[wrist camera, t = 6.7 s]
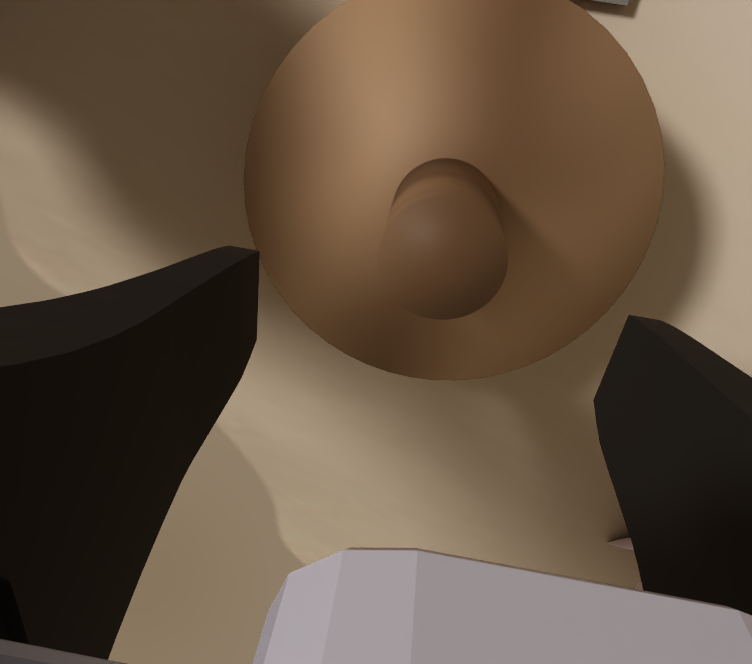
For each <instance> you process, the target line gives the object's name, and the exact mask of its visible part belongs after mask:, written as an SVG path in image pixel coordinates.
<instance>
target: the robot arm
mask: <svg viewBox="0 0 752 664" xmlns="http://www.w3.org/2000/svg"><path fill="white" fill-rule="evenodd" d="M259 255H260V251H257V250H251V249H245V248H239V247H233V246H225V247H221V248H217V249H214V250H211V251H208V252H205V253H202V254H200V255H197V256H194V257H191V258H189V259H186V260H183V261H181V262H178V263H175V264H172V265H170V266H167V267H164V268H162V269H159V270H156V271H153V272H150V273H147V274H144V275H141V276H138V277H135V278H131V279H128V280H125V281H122V282H119V283H116V284H113V285H110V286H106V287H102V288H99V289H95V290H91V291H87V292H83V293H79V294H74V295H70V296H65V297H60V298H56V299H51V300H46V301H40V302H33V303H26V304H20V305H13V306H6V307H0V664H125V663H120V662H115V661H110V660H108V658H109V655H110V652H111V650H112V647H113V644H114V642H115V639H116V636H117V633H118V631H119V629H120V626H121V623H122V621H123V618H124V616H125V613H126V611H127V608H128V606H129V603H130V601H131V598H132V596H133V593H134V590H135V588H136V586H137V583H138V580H139V578H140V576H141V573H142V570H143V568H144V566H145V564H146V561H147V559H148V556H149V554H150V552H151V549H152V547H153V544H154V542H155V540H156V538H157V535H158V533H159V531H160V528H161V526H162V524H163V521H164V519H165V516H166V514H167V512H168V510H169V508H170V506H171V503H172V501H173V499H174V497H175V495H176V492H177V490H178V488H179V486H180V483H181V481H182V479H183V477H184V475H185V473H186V472H187V470H188V468H189V466H190V464H191V462H192V460H193V459H194V457H195V455H196V454H197V452H198V450H199V449H200V447H201V445H202V444H203V442H204V440H205V439H206V437H207V435H208V434H209V432H210V430H211V429H212V427H213V425H214V424H215V422H216V420H217V419H218V417H219V415H220V414H221V412H222V410H223V409H224V407H225V405H226V404H227V402H228V400H229V399H230V397H231V395H232V393H233V392H234V390H235V388H236V387H237V385H238V383H239V381H240V380H241V378H242V375H243V373H244V370H245V368H246V366H247V363H248V361H249V358H250V356H251V353H252V351H253V348H254V345H255V343H256V340H257V313H258V284H259ZM594 407H595V415H596V423H597V429H598V435H599V440H600V445H601V448H602V452H603V455H604V458H605V461H606V464H607V468H608V471H609V474H610V477H611V480H612V483H613V486H614V489H615V492H616V495H617V499H618V502H619V505H620V508H621V511H622V514H623V517H624V520H625V523H626V526H627V529H628V532H629V535H630V538H631V541H632V545H633V549H634V552H635V556H636V560H637V563H638V567H639V572H640V577H641V582H642V587H643V590H638V589H633V588H627V587H622V586H616V585H611V584H606V583H600V582H595V581H590V580H584V579H579V578H574V577H568V576H563V575H558V574H552V573H547V572H541V571H536V570H531V569H525V568H520V567H515V566H509V565H504V564H499V563H493V562H488V561H483V560H477V559H472V558H466V557H461V556H456V555H450V554H445V553H440V552H434V551H429V550H424V549H418V548H348V549H345V550H342V551H340V552H337V553H335V554H333V555H330V556H328V557H326V558H323V559H321V560H319V561H317V562H314V563H312V564H310V565H307V566H305V567H303V568H300V569H298V570H296V571H293V572H291V573H289V574H288V576H287V578H286V580H285V582H284V584H283V585H282V587H281V589H280V591H279V593H278V595H277V597H276V598H275V600H274V602H273V604H272V606H271V607H270V609H269V611H268V614H267V617H266V621H265V624H264V627H263V631H262V634H261V638H260V641H259V644H258V648H257V651H256V654H255V658H254V661H253V664H752V377H750V376H749V375H747V374H745V373H744V372H742V371H741V370H739V369H738V368H737V367H735V366H734V365H732V364H731V363H729V362H728V361H726V360H725V359H723V358H722V357H720V356H719V355H717V354H716V353H714V352H713V351H711V350H710V349H708V348H707V347H705V346H704V345H702V344H701V343H699V342H698V341H696V340H695V339H693V338H692V337H690V336H688V335H687V334H685V333H684V332H682V331H680V330H679V329H677V328H675V327H673V326H671V325H670V324H667V323H665V322H663V321H660V320H655V319H649V318H643V317H637V316H632V315H629V316H628V318H627V321H626V323H625V326H624V328H623V330H622V333H621V335H620V338H619V340H618V342H617V345H616V347H615V350H614V352H613V354H612V357H611V359H610V362H609V364H608V366H607V369H606V371H605V374H604V376H603V378H602V381H601V383H600V386H599V388H598V390H597V393H596V395H595V398H594Z"/></svg>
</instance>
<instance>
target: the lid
mask: <svg viewBox="0 0 752 664" xmlns="http://www.w3.org/2000/svg"><path fill="white" fill-rule="evenodd" d="M663 183H664V155H663V145H662V135H661V131H660V127H659V123H658V119H657V115H656V111H655V107H654V104H653V102H652V100H651V97H650V95H649V93H648V90H647V88H646V85H645V83H644V81H643V78H642V77H641V75H640V73H639V72H638V70H637V69H636V67H635V65H634V64H633V62H632V60H631V59H630V57H629V56H628V54H627V52H626V51H625V50H624V49H623V48H622V47H621V45H620V44H619V43H618V42H617V41H616V40H615V38H614V37H613V36H612V35H611V34H610V33H609V31H608V30H607V29H606V28H605V27H604V26H602V25H601V24H600V23H599V22H598V21H596V20H595V19H594V18H593V17H592V16H591V15H589V14H588V13H587V12H586V11H585V10H584V9H582V8H581V7H579V6H578V5H576V4H574V3H573V2H571V1H569V0H349V1H347V2H345V3H344V4H342V5H340V6H339V7H337V8H336V9H335V10H333V11H332V12H331V13H329V14H328V15H327V16H326V17H324V18H323V19H322V20H321V21H319V22H318V23H317V24H315V25H314V26H313V27H312V28H311V29H310V30H309V31H308V32H307V33H306V34H305V35H304V36H303V37H302V39H301V40H300V41H299V42H298V43H297V44H296V45H295V46H294V47H293V48H292V49H291V51H290V52H289V53H288V55H287V56H286V58H285V59H284V60H283V62H282V63H281V65H280V66H279V67H278V69H277V70H276V72H275V73H274V75H273V77H272V79H271V81H270V83H269V85H268V86H267V88H266V90H265V92H264V94H263V96H262V98H261V101H260V103H259V106H258V109H257V112H256V114H255V117H254V120H253V123H252V126H251V131H250V135H249V140H248V144H247V149H246V158H245V170H244V189H245V205H246V211H247V216H248V222H249V227H250V231H251V234H252V237H253V240H254V244H255V247H256V250H257V251H260V255H259V257H260V259H261V262H262V264H263V266H264V268H265V270H266V273H267V274H268V276H269V278H270V279H271V281H272V283H273V284H274V286H275V287H276V289H277V291H278V292H279V294H280V295H281V296H282V298H283V299H284V300H285V302H286V303H287V304H288V305H289V307H290V308H291V309H292V310H293V312H294V313H295V314H296V315H297V316H298V317H299V318H300V319H301V320H302V321H303V322H304V323H305V324H306V325H307V326H308V327H309V328H310V329H312V330H313V331H314V332H315V333H317V334H318V335H319V336H320V337H322V338H323V339H324V340H325V341H327V342H328V343H329V344H331V345H333V346H334V347H336V348H337V349H339V350H341V351H342V352H344V353H345V354H347V355H349V356H351V357H353V358H355V359H357V360H359V361H362V362H364V363H366V364H368V365H371V366H374V367H376V368H379V369H382V370H385V371H388V372H392V373H396V374H400V375H404V376H409V377H415V378H423V379H431V380H463V379H474V378H482V377H487V376H492V375H497V374H502V373H505V372H508V371H512V370H515V369H518V368H521V367H524V366H527V365H529V364H531V363H533V362H536V361H538V360H540V359H543V358H545V357H547V356H549V355H551V354H552V353H554V352H556V351H557V350H559V349H561V348H563V347H564V346H566V345H568V344H569V343H571V342H572V341H573V340H575V339H576V338H577V337H579V336H580V335H581V334H583V333H584V332H585V331H587V330H588V329H589V328H590V327H591V326H592V325H593V324H594V323H595V322H597V321H598V320H599V319H600V318H601V317H602V316H603V315H604V314H605V313H606V312H607V311H608V310H609V309H610V307H611V306H612V305H613V304H614V303H615V301H616V300H617V299H618V298H619V297H620V295H621V294H622V293H623V292H624V290H625V289H626V287H627V286H628V284H629V283H630V281H631V280H632V278H633V276H634V275H635V273H636V272H637V270H638V268H639V266H640V264H641V262H642V260H643V258H644V256H645V254H646V252H647V250H648V248H649V245H650V242H651V239H652V236H653V233H654V230H655V227H656V224H657V221H658V217H659V211H660V206H661V201H662V195H663Z"/></svg>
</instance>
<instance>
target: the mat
mask: <svg viewBox="0 0 752 664" xmlns="http://www.w3.org/2000/svg"><path fill="white" fill-rule="evenodd" d="M592 1H599V2H605V3H611V4H618V5H625V6H627V5H628V2H629V0H592Z"/></svg>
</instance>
